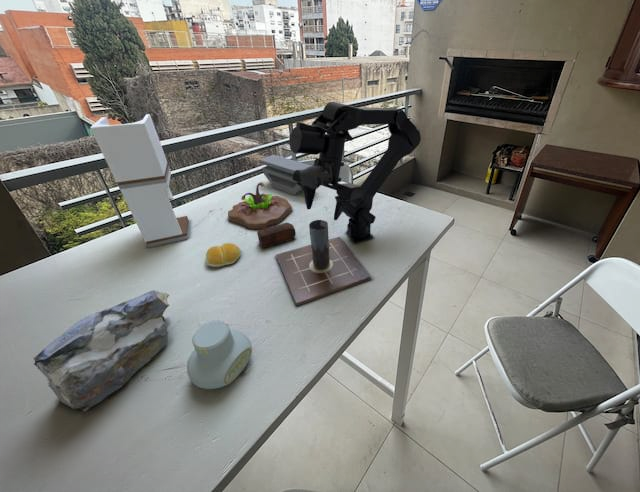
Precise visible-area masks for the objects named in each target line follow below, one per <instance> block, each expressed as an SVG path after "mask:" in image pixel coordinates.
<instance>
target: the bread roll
mask: <svg viewBox="0 0 640 492" xmlns="http://www.w3.org/2000/svg"><path fill="white" fill-rule="evenodd" d="M241 253H242V252H241V248H240V247H239V246H238V245H237V244H235V243H231V242H230V243H229V242H227V243H223V244H221V245H220V246H219V245H213V246H211V247H209V248H208V249H207V250H206V253H205V262H206V265H207V266H208V267H213V268H220V267H223V266H227V265H228V266H229V265H233V264H234V263H236V261H238V259H239V258H240V256H241Z"/></svg>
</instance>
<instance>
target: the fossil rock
mask: <svg viewBox="0 0 640 492" xmlns="http://www.w3.org/2000/svg"><path fill="white" fill-rule="evenodd" d="M169 296H170V295H169V293H167V292H161V291H159V290H154V289H153V290H149V291H147V292H145V293H144V294H142V295H139V296H136V297H134V298H130V299H128V300H125V301H123V302H120V303H119V304H115V305H113V306H110V307H107V308H105V309H103V310H100V311H97V312H95V313H92V314H90V315H87V316H85V317H84V318H82V319H80V320H78V321H77V322H76V323H74V324H73V325H72V326H70V327H69V329H67V330H66V331H65V332H63V333H62V334H61V335H59V336H58V337H57V338H55V339H54V340H53V341H52V342H50V343H49V344H48V345H47V346H46V347H45V348H43V349H42V350H41V351H40V352H39V353H38V354H37V355H35V356H34V357H33V360H34V363H33V365H34V366H35V367H36V368H37V369H38V371H39V372H41V374H42V375H43V376H45V378H46V379H47V381H48V383H47V385H48V387H49V388H50V389H51V390H52V392H53V393H54V395H55V396H56V397H57V399H58V401H60V402H61V403H62V404H64V405H66V407H67V406H68V407H70V408H71V409H72V410H75V409H79V410H82V411H83V412H84V413H86V412H88V411H89V410H90V409H91V408H92V407H95V406H96V405H98V404H100V403H101V402H102V401H103V400H105V399H106V398H107V397H109V396H110V395H112V394H113V393H115V392H116V391H118V390H119V389H121V388H122V387H124V386H125V385H126V383H127V382H129V381H130V380H131V378H132V377H133V376H134V375H135V374H137V372H138V371H139V370H140V369H141V368H143V367H144V366H146V364H148V363H150V361H152V359H153V358H154V357H155V356H156V355H157V354H158V353H159V352H160V351H161V350H162V349H165V347H166V345H167V343H168V336H169V335H168V334H169V332H168V328H167V323H166V318H165V316H164V313H165V311H166V309H167V308H169V307H170V304H169V301H168V298H169Z"/></svg>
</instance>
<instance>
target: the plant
mask: <svg viewBox="0 0 640 492" xmlns="http://www.w3.org/2000/svg"><path fill="white" fill-rule="evenodd" d="M259 187H261V188H262V187H265V182H262V181H261V182H259V183H257V185H256V188H255V193H253V192H252V193H251V192H246V193H245V194H243V195H242V196H241V197H240V199H241V200H242V201H240V202H238V203H237V204H234V205H232V209H230V210H228V211H227V216H228V219H229V221H230V222H232V223H235V224H240V225H242V226H245V227H246V228H247V229H250V230H251V229H252V230H261V229H265V228H269V227H271V226H274V225H279V223H282V221H283V220H284V219H285V218H286V217H287V216H288V215H290V214H291V213H292V212H293V208H292V207H293V206H292V205H291V204H290V202H289V200H287V199H286V198H284V197H281V196H279V195H273V193H270V194H265V193H264V192H263V193H260V189H259ZM248 195H249V198H246V196H248Z"/></svg>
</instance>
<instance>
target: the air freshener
mask: <svg viewBox="0 0 640 492" xmlns="http://www.w3.org/2000/svg"><path fill="white" fill-rule="evenodd" d="M191 340H192V341H191V343H192V346H193V348H194V349H193V351H191V353H190V354H189V355H190V356H189V358H188V359H187V363H186V373H187V376H188V378H189V380H190V381H191V383H192V384H193V385H195V386H196V387H198V388H202V389H205V390H215V389H219V388H223V387H225V386H228V385H230V384H231V383H232V382H233V381H234V380H235V379H237V377H239V375H240V374H241V373H242V372H243V370H244V369H245V367H246V366H247V364H248V362H249V361H250V358H251V356H252V353H253V346H252V343H251V340H250V338H249V337H248V336H247V334H245V333H244V332H243V331H240V330H237V329H231V328H230V326H229V324H228V323H227V322H226V321H224V320H218V319H217V320H211V321H208V322H205V323H204V324H202V325H201V326H200V327H198V329H197V330H195V332H194V334H193V336H192V339H191Z"/></svg>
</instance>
